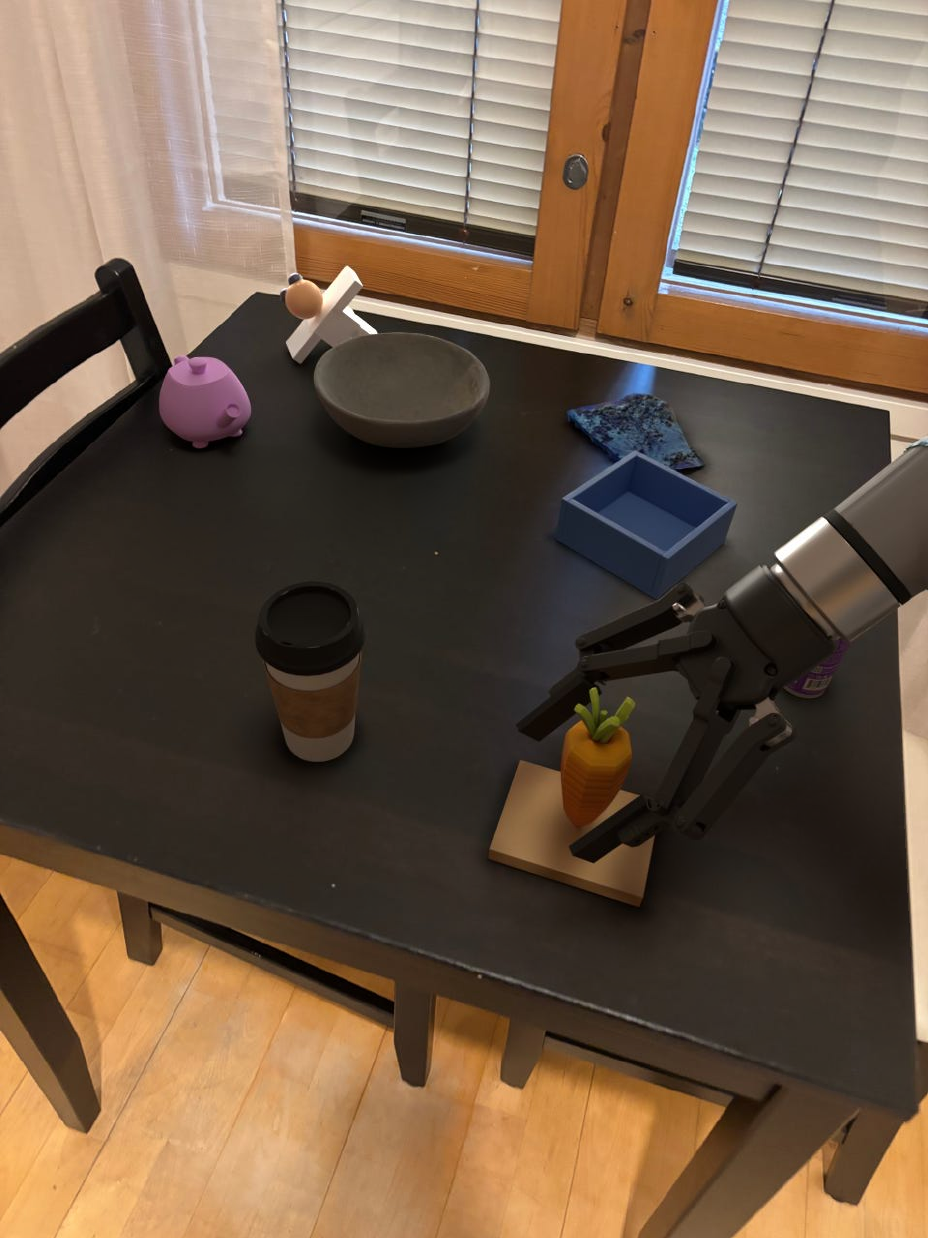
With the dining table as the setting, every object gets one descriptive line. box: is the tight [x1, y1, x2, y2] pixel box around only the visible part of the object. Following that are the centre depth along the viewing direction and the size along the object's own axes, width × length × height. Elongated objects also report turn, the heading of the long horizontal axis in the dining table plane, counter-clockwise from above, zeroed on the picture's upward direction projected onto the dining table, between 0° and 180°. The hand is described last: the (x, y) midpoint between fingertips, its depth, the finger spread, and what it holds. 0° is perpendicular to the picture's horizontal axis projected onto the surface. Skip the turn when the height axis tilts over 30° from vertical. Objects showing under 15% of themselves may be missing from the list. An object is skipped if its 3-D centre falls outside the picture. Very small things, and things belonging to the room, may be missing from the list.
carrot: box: [560, 688, 636, 827], centre depth 65 cm, size 5×5×15 cm
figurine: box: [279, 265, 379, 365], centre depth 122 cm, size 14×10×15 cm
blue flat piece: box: [566, 392, 706, 471], centre depth 112 cm, size 15×17×2 cm
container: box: [782, 637, 852, 699], centre depth 79 cm, size 5×5×15 cm
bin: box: [554, 451, 739, 601], centre depth 96 cm, size 14×14×6 cm
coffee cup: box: [254, 580, 366, 763], centre depth 71 cm, size 8×8×15 cm
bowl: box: [313, 331, 491, 449], centre depth 109 cm, size 21×21×8 cm
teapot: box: [158, 354, 252, 449], centre depth 105 cm, size 10×15×9 cm
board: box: [487, 759, 656, 908], centre depth 70 cm, size 12×9×2 cm
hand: (552, 790), depth 65 cm, fingers open, 10 cm apart
